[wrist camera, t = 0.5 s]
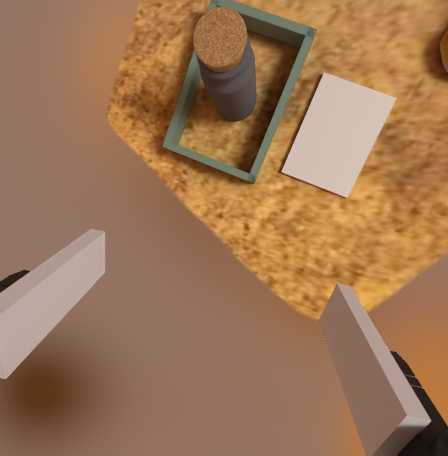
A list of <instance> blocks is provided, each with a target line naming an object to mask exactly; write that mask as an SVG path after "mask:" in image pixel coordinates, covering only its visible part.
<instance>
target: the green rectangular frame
mask: <svg viewBox="0 0 448 456" xmlns="http://www.w3.org/2000/svg"><path fill="white" fill-rule="evenodd" d="M216 7H228V8H231V9H233V10H235V11H236V12H237V13H238V14H239V15H240V16H241V17H242V19H243V20H244V23H245V26H246V29H247V30H248V31H251V32H254V33H257V34H260V35H263V36H266V37H268V38H271V39H274V40H277V41H280V42H283V43H286V44H289V45H291V46H294V47H297V48H300V51H299V53H298V56H297V58H296V61H295V63H294V66H293V68H292V71H291V73H290V75H289V78H288V80H287V83H286V85H285V88H284V90H283V93H282V95H281V98H280V100H279V103H278V105H277V107H276V110H275V112H274V115H273V117H272V120H271V122H270V125H269V127H268V130H267V132H266V135H265V137H264V140H263V142H262V144H261V147H260V149H259V152H258V154H257V157H256V159H255V162H254V164H253V167H252V169H251V172H250V174H249V173H247V172H244V171H242V170H239V169H237V168H234V167H232V166H229V165H227V164H224V163H221V162H219V161H216V160H214V159H211V158H209V157H206V156H204V155H201V154H199V153H196V152H194V151H191V150H189V149H186V148H184V147H181V146H179V145H178V144H179V141H180V139H181V136H182V133H183V130H184V127H185V124H186V121H187V118H188V115H189V112H190V109H191V106H192V103H193V100H194V97H195V95H196V92H197V89H198V86H199V83H200V80H201V75H200V69H199V64H198V61H197V56H196V52H195V50H194V52H193V55H192V58H191V61H190V64H189V67H188V70H187V73H186V76H185V79H184V82H183V85H182V88H181V92H180V95H179V98H178V101H177V104H176V107H175V110H174V113H173V116H172V119H171V122H170V125H169V128H168V131H167V134H166V137H165V140H164V143H163V146H162V147H164V148H166V149H168V150H171V151H173V152H176V153H178V154H181V155H183V156H186V157H188V158H191V159H193V160H196V161H198V162H201V163H203V164H206V165H208V166H211V167H213V168H216V169H218V170H221V171H223V172H226V173H228V174H231V175H233V176H236V177H238V178H240V179H243V180H245V181H248V182H250V183H253V184H254V183H255V180H256V178H257V176H258V173H259V171H260V168H261V166H262V164H263V161H264V159H265V156H266V154H267V151H268V149H269V147H270V144H271V142H272V139H273V137H274V134H275V132H276V130H277V127H278V125H279V122H280V120H281V117H282V115H283V113H284V110H285V108H286V105H287V103H288V100H289V98H290V96H291V93H292V91H293V88H294V86H295V84H296V81H297V79H298V76H299V74H300V71H301V69H302V67H303V64H304V62H305V59H306V57H307V54H308V52H309V50H310V47H311V45H312V42H313V39H314V36H315V33H316V31H317V29H314V28H311V27H308V26H305V25H302V24H299V23H296V22H294V21H291V20H288V19H285V18H282V17H279V16H276V15H273V14H270V13H267V12H264V11H261V10H258V9H255V8H253V7H250V6H247V5H244V4H241V3H238V2H235V1H232V0H210V3H209V6H208V9H207V11H209V10H211V9H213V8H216Z"/></svg>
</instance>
